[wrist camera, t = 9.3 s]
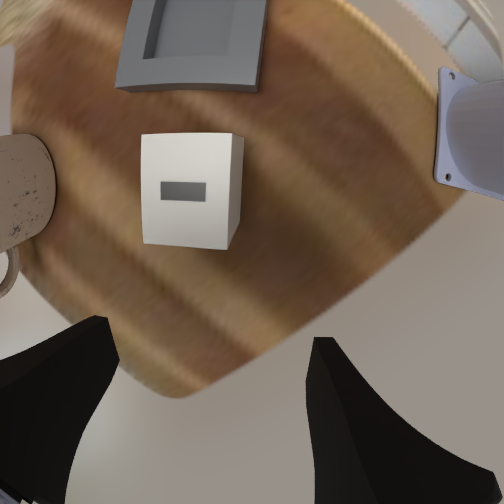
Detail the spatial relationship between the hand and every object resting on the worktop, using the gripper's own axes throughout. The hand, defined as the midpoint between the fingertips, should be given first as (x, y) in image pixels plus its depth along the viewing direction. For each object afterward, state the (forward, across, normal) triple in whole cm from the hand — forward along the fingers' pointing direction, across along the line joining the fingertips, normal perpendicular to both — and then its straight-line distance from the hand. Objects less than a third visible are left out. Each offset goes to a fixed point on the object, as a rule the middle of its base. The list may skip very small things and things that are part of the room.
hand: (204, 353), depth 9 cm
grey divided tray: (+10, +2, -18) cm, 20 cm away
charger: (+10, +2, -5) cm, 11 cm away
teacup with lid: (+10, +18, -4) cm, 21 cm away
